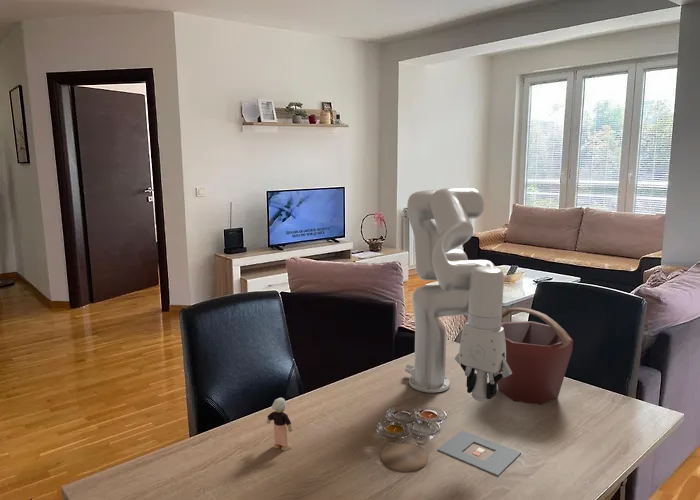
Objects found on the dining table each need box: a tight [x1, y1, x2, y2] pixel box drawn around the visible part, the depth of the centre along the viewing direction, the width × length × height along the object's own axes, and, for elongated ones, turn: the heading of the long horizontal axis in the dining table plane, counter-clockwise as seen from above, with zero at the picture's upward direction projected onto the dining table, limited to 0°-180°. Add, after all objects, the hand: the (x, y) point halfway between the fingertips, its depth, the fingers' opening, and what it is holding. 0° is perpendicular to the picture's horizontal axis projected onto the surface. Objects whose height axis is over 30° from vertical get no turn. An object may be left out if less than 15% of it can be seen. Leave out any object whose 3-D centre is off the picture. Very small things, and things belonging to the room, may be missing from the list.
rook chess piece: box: [471, 369, 489, 402], centre depth 127 cm, size 4×4×8 cm
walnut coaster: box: [380, 443, 429, 473], centre depth 127 cm, size 11×11×1 cm
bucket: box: [497, 307, 574, 406], centre depth 160 cm, size 24×22×25 cm
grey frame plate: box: [436, 429, 522, 477], centre depth 130 cm, size 16×12×1 cm
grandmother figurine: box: [265, 397, 294, 452], centre depth 132 cm, size 8×4×13 cm, turn 71°
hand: (481, 393), depth 127 cm, fingers closed on rook chess piece, 4 cm apart
